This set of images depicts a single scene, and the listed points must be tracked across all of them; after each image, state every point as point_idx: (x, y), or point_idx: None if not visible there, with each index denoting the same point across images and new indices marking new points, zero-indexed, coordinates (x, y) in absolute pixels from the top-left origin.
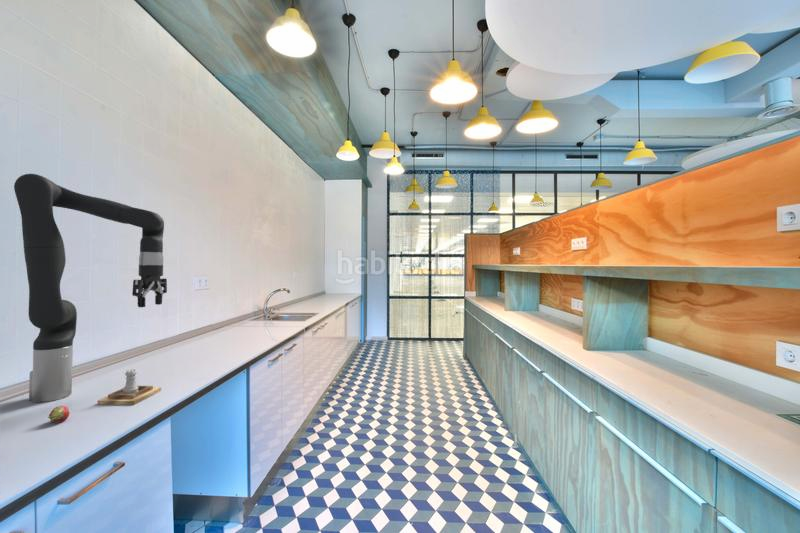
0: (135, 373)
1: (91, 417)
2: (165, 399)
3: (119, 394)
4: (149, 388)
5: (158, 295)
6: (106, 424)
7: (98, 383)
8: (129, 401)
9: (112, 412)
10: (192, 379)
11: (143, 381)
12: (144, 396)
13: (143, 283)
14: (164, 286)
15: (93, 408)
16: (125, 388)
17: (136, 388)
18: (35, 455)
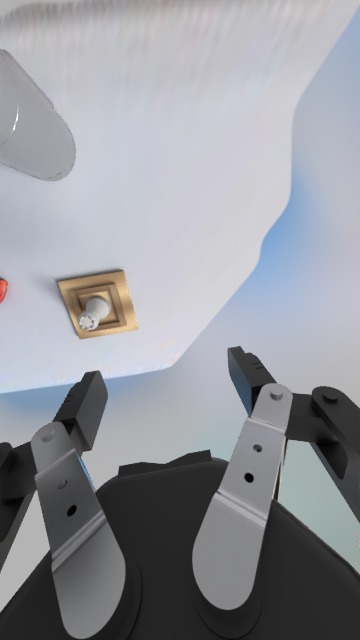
0: (90, 329)
1: (27, 320)
2: (112, 360)
3: (76, 309)
4: (118, 326)
5: (250, 406)
6: (25, 357)
7: (136, 159)
8: (77, 332)
9: (51, 332)
10: (196, 333)
11: (169, 254)
12: (100, 335)
13: (42, 612)
14: (345, 498)
15: (47, 291)
16: (86, 309)
17: (100, 319)
18: None
